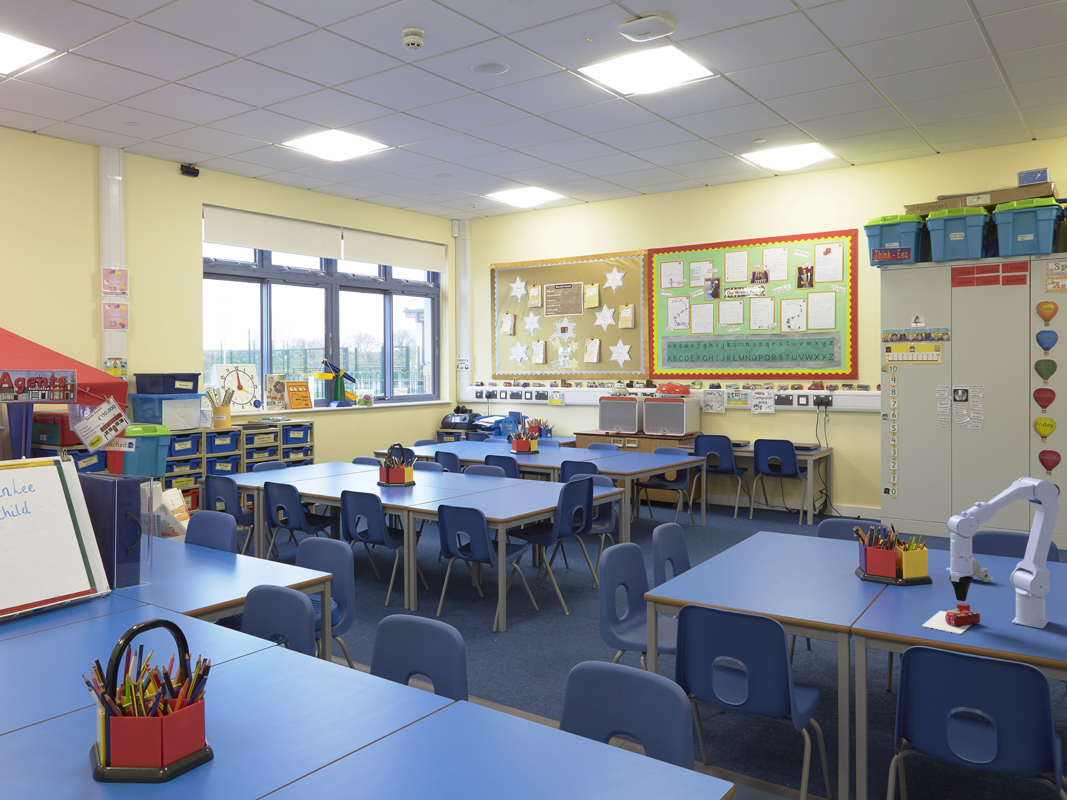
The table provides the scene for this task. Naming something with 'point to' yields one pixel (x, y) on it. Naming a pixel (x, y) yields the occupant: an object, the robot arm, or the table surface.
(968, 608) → the toy fire truck
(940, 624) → the mat
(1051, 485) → the robot arm
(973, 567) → the chubby cartoon animal
